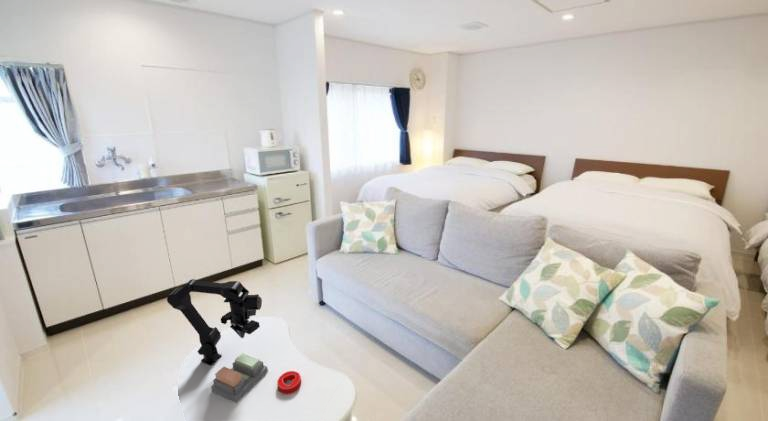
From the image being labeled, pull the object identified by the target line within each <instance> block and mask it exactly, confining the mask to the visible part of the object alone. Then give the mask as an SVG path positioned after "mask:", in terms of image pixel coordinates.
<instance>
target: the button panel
mask: <svg viewBox="0 0 768 421" xmlns="http://www.w3.org/2000/svg"><path fill="white" fill-rule="evenodd" d="M230 369H231V370H233V371H236V372H238V373H241V375H242V381H241V382H240V383H239V384H238V385H237V386H236V387H235V388H232V387H230V386H228V385H226V384H223V383H221V382H219V381H217V380H216V377H215V378H214V379H213V381H212V382H213V384H212V385H211V386H210V389H211V392H212V393H215V394H216V395H219V396H220V397H222V398H225V399H227V400H229V401H231V402H234V403H235V404H237V403H238V402H239V401H240V400H241V399H242V398H243V397H244V396H245V395H246V394H247V393H248V392H249V391H250V390H251V389H252V388H253V387H254V386H255V385H256V384H257V383H258V382H259V380H261V379H262V377H263V376H265V375H266V373H267V372H269V370H268V366H267V365H264V361H261V360H260V364H259V365H258V366H257V367H256V368H255V369H254V370H253V371H252V370H250V369H247V368H245V367H243V366H240V365H238V364H236V363H235V361H233V363H232V367H231V368H230Z"/></svg>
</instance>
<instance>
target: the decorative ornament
mask: <svg viewBox="0 0 768 421" xmlns="http://www.w3.org/2000/svg"><path fill="white" fill-rule="evenodd" d="M290 381H291V384H288V385H287V384H286V383H287V382H290ZM276 385H277V389H278V391H279V393H280V394H283V395H291V394H293V393H294V394H295V392H297V391H298V390H299V389H300V388H301V385H302V377H301V374H300V373H299V372H297V371H295V370H290V371H286V372H284V373H283V374H280V376H279V377H278V379H277V384H276Z"/></svg>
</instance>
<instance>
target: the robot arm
mask: <svg viewBox="0 0 768 421" xmlns="http://www.w3.org/2000/svg"><path fill="white" fill-rule="evenodd" d="M191 292H192V293H199V294H200V293H202V294H210V295H212V294H213V295H219V296H221V297H223V298H225V300H223V303H228V304H229V308H230V311H228V312H227V313H225V314H224V315H222V316H221V318H220V323H221V324H222V325H227V323H228V321H230V322H229V323H230V325H229V328H231V330H233V331H234V332H235V334H236V335H238V336H239V338H241V339H244V337H245V335H246V334H248V335H252V334H253V333H254V332H255V331H257V330H258V329H259V328H260V322H258V321H256V320H253V319H251V320H250V317H253V316H256V314H257V311H260V310H261V308H262V303H263V300H262V297H261V296H260V294H249V293H250V291H249V290H248V289H247V288H246V287H245V286H244V285H243V284H242V283H241V282H240V281H237V280H231V281H227V282H215V281H204V280H197V279H194V278H193V279H189V281H187V282H186V283H184V284H183V285H182V286H179V287H176V288H175V289H174V290H173V291H171V293H170V294H169V295H168V296H167V297H166V301H167V303H168V305H170V306H171V307H172V308H173V309H175V310H177V311H180V312H181V313H182V315H183V316H184V318H186V319H187V321H188V323H190V325H191V326H192V327H193V329H194V330H195V331H196V332H197V334H198V337H199V338H198V339H199V344H200V345H201V346H200V347H199V348H198V350H197V353H198V355H200V356H203V357H202V359H200V362H202V363H204V364H206V365H209V366H212V365H213V364H214V363H215V362H216V361H218V360H219V359H220V358H222V354H220V353H219V351H218V348H217V345H218V343H219V341H220V340H221V338H222V335H221V333H222V332H220V331H219V329H218V328H217V327H216V326H214V327H211V326H210V325H209V324H208V323H207V322H206V320H205V319H204V318H203V317H202V315H201V314H200V312H199V311H198V310H197V309H196V307H195V306H194V305H193V303H192V298H191V297H192V295H191V294H190V293H191ZM241 293H242V294H241Z"/></svg>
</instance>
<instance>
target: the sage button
mask: <svg viewBox="0 0 768 421" xmlns="http://www.w3.org/2000/svg"><path fill="white" fill-rule="evenodd" d="M260 361H261V360H260V359H258V358H256V357H254V356H251V355H248V354H246V353H243V352H242V353H241V354H240V355H239V356H238V357H236V358H235V359H234V362H235V363H236V364H238V365H240V366H243V367H245V368H247V369H250V370H252V371H253V370H254V369H255V368H256V367H257V366H258V365H259V364H260Z"/></svg>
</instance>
